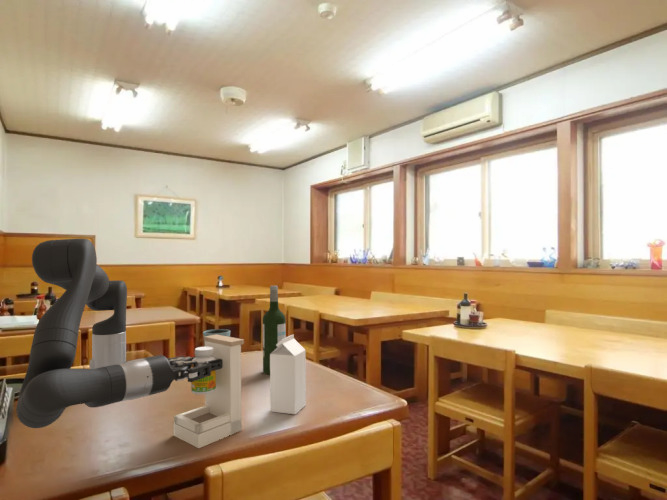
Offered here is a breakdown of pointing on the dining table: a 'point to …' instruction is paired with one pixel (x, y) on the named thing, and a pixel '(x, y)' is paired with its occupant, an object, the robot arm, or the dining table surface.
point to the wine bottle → (272, 328)
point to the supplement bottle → (206, 383)
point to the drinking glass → (216, 331)
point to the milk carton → (287, 377)
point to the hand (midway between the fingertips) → (213, 361)
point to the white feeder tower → (216, 398)
